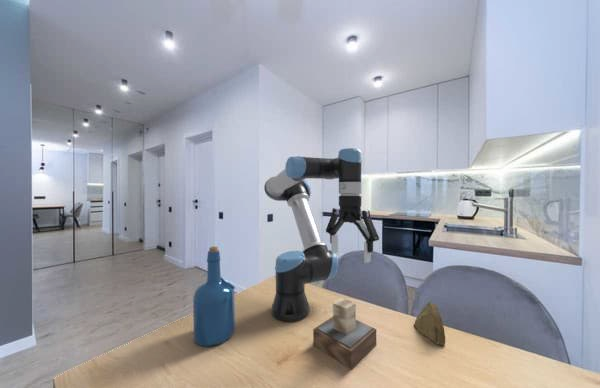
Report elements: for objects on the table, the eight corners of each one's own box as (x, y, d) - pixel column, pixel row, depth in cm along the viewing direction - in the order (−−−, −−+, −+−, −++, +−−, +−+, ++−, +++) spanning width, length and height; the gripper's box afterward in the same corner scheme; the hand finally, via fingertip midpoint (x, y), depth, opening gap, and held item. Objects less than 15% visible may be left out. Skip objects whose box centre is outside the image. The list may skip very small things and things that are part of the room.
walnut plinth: (313, 344, 71) (313, 328, 71) (339, 326, 81) (339, 311, 81) (351, 369, 61) (351, 350, 61) (376, 344, 71) (376, 328, 71)
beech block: (333, 328, 71) (333, 302, 71) (342, 321, 74) (342, 297, 74) (346, 335, 67) (346, 308, 67) (355, 328, 71) (355, 302, 71)
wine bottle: (199, 354, 67) (198, 254, 67) (188, 333, 78) (187, 246, 77) (242, 335, 76) (241, 247, 76) (227, 319, 86) (226, 240, 86)
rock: (456, 342, 68) (448, 320, 77) (437, 318, 69) (431, 299, 78) (424, 354, 72) (420, 332, 81) (406, 331, 73) (404, 312, 82)
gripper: (316, 194, 83) (316, 251, 84) (377, 195, 64) (377, 269, 65) (329, 194, 88) (329, 248, 89) (390, 195, 69) (390, 263, 70)
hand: (350, 257), depth 77 cm, fingers open, 13 cm apart
